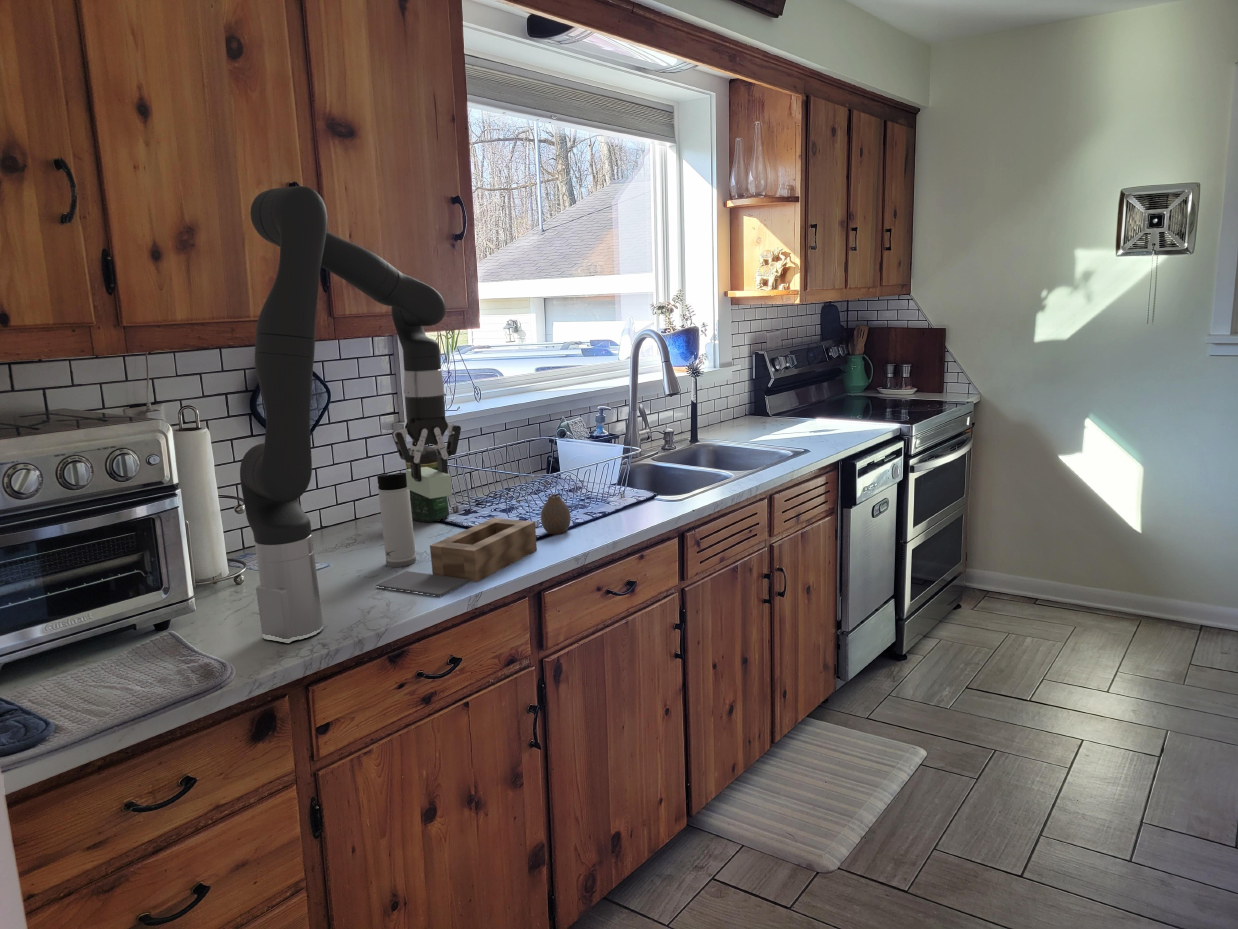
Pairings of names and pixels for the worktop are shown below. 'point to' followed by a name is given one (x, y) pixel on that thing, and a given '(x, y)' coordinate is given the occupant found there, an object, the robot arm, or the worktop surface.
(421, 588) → the grey flat plate
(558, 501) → the vase
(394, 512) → the travel mug
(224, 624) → the worktop surface
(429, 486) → the block
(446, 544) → the brown wooden box
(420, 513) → the coffee jar
